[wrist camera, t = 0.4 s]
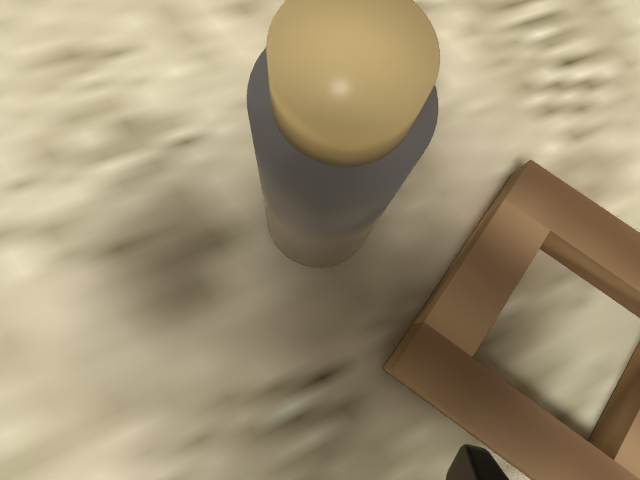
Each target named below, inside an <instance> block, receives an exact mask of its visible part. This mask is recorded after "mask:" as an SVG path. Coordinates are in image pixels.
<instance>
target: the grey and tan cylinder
mask: <svg viewBox="0 0 640 480" xmlns="http://www.w3.org/2000/svg"><path fill="white" fill-rule="evenodd" d="M439 66H440V49H439V43H438V39H437V36H436V33H435V30H434V28H433V26H432V24H431V22H430V20H429V19H428V17H427V16H426V14H425V13H424V12H423V11H422V9H421V8H420V7H419V6H418V5H417V4H416V3H415V2H414V1H413V0H286V1H285V2H284V3H283V4H282V6H281V7H280V8H279V9H278V11H277V13H276V14H275V16H274V18H273V20H272V22H271V25H270V27H269V31H268V35H267V44H266V48H265V49H264V51H263V52H262V53H261V54H260V56H259V58H258V60H257V61H256V63H255V65H254V67H253V70H252V72H251V75H250V79H249V83H248V89H247V109H248V115H249V120H250V126H251V132H252V137H253V143H254V148H255V154H256V159H257V165H258V170H259V176H260V182H261V187H262V193H263V198H264V204H265V209H266V215H267V220H268V226H269V231H270V233H271V236H272V238H273V240H274V242H275V244H276V245H277V247H278V248H279V249H280V250H281V251H282V252H283V253H284V254H285V255H286V256H287V257H289V258H290V259H292V260H293V261H296V262H298V263H300V264H303V265H306V266H311V267H327V266H332V265H335V264H338V263H340V262H342V261H344V260H346V259H347V258H349V257H350V256H351V255H352V254H354V253H355V252H356V251H357V249H358V248H359V247H360V245H361V244H362V243H363V241H364V240H365V238H366V237H367V235H368V234H369V232H370V231H371V229H372V228H373V226H374V225H375V223H376V222H377V220H378V219H379V217H380V216H381V215H382V213H383V212H384V210H385V209H386V207H387V206H388V204H389V203H390V201H391V200H392V198H393V197H394V195H395V194H396V192H397V191H398V189H399V188H400V187H401V185H402V184H403V182H404V181H405V179H406V178H407V176H408V175H409V173H410V172H411V170H412V169H413V167H414V166H415V164H416V163H417V161H418V160H419V159H420V157H421V156H422V154H423V153H424V151H425V149H426V148H427V146H428V145H429V143H430V141H431V138H432V136H433V134H434V131H435V127H436V123H437V117H438V97H437V91H436V87H435V82H436V79H437V76H438V72H439Z"/></svg>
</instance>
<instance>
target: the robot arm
mask: <svg viewBox="0 0 640 480" xmlns="http://www.w3.org/2000/svg"><path fill="white" fill-rule="evenodd" d="M446 480H509V479H508V477H507V476H506V475H505V473H504V472H503V470H502V469H501V468H500V466H499V465H498V464H497V462H496V461H495V459H494V458H493V457H492V455H491V454H490V453H489V452H488V451H487V450H486V449H484V448H481V447H477V446H472V445H468V444H465V445H463V446H461V448H460V449H459V451H458V453H457V455H456V457H455V459H454V461H453V463H452V464H451V466H450V468H449V470H448V472H447V476H446Z"/></svg>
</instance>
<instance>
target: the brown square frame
mask: <svg viewBox="0 0 640 480" xmlns="http://www.w3.org/2000/svg"><path fill="white" fill-rule="evenodd" d="M539 248H540V249H541V250H543V251H544V252H546V253H547V254H549V255H550V256H551V257H553V258H554V259H556V260H557V261H559V262H560V263H562V264H563V265H564V266H566V267H567V268H569V269H570V270H572V271H573V272H575V273H576V274H577V275H579V276H580V277H582V278H583V279H585V280H586V281H588V282H589V283H590V284H592V285H593V286H595V287H596V288H598V289H599V290H601V291H602V292H603V293H605V294H606V295H608V296H609V297H611V298H612V299H613V300H615V301H616V302H618V303H619V304H621V305H622V306H624V307H625V308H626V309H628V310H629V311H631V312H632V313H634V314H635V315H637V316H638V317H639V318H640V233H639V232H637V231H636V230H634V229H633V228H632V227H630V226H629V225H627V224H626V223H624V222H623V221H621V220H620V219H618V218H617V217H615V216H614V215H612V214H611V213H609V212H608V211H606V210H605V209H603V208H602V207H600V206H599V205H597V204H596V203H594V202H593V201H591V200H590V199H588V198H587V197H586V196H584V195H583V194H581V193H580V192H578V191H577V190H575V189H574V188H572V187H571V186H569V185H568V184H566V183H565V182H563V181H562V180H560V179H559V178H557V177H556V176H554V175H553V174H551V173H550V172H548V171H547V170H545V169H544V168H542V167H541V166H540V165H538V164H537V163H535V162H534V161H532V160H530V161H528V162H527V163H526V164H525V165H523V166H522V167H521V168H520V169H518V170H517V171H516V172H514V173H513V174H512V175H511V176H510V178H509V179H508V181H507V182H506V184H505V185H504V187H503V188H502V190H501V191H500V193H499V194H498V196H497V197H496V199H495V200H494V202H493V203H492V205H491V206H490V208H489V209H488V211H487V212H486V214H485V215H484V217H483V218H482V220H481V221H480V223H479V224H478V226H477V227H476V229H475V230H474V232H473V233H472V235H471V236H470V238H469V239H468V241H467V242H466V244H465V245H464V247H463V248H462V250H461V251H460V253H459V254H458V256H457V257H456V259H455V260H454V262H453V263H452V265H451V266H450V268H449V269H448V271H447V272H446V274H445V275H444V277H443V278H442V280H441V281H440V283H439V284H438V286H437V287H436V289H435V290H434V292H433V293H432V295H431V296H430V298H429V299H428V301H427V302H426V304H425V305H424V307H423V308H422V310H421V311H420V313H419V314H418V316H417V317H416V319H415V320H414V322H413V323H412V325H411V327H410V328H409V330H408V331H407V333H406V334H405V336H404V337H403V339H402V340H401V342H400V343H399V345H398V346H397V348H396V349H395V351H394V352H393V354H392V355H391V357H390V358H389V360H388V361H387V363H386V364H385V366H384V367H383V369H384V370H385V371H387V372H388V373H389V374H391V375H392V376H393V377H395V378H396V379H397V380H399V381H400V382H401V383H403V384H404V385H405V386H407V387H408V388H409V389H411V390H412V391H413V392H415V393H416V394H417V395H419V396H420V397H421V398H423V399H424V400H425V401H427V402H428V403H429V404H431V405H432V406H433V407H435V408H436V409H437V410H439V411H440V412H441V413H443V414H444V415H445V416H447V417H448V418H449V419H451V420H452V421H453V422H455V423H456V424H458V425H459V426H460V427H462V428H463V429H464V430H466V431H467V432H468V433H470V434H471V435H472V436H474V437H475V438H476V439H478V440H479V441H480V442H482V443H483V444H484V445H486V446H487V447H488V448H490V449H491V450H492V451H494V452H495V453H496V454H498V455H499V456H500V457H502V458H503V459H504V460H506V461H507V462H508V463H510V464H511V465H512V466H514V467H515V468H516V469H518V470H519V471H520V472H522V473H523V474H524V475H526V476H527V477H528V478H530V479H531V480H640V343H639V345H638V346H637V348H636V350H635V352H634V354H633V356H632V358H631V360H630V362H629V364H628V366H627V368H626V369H625V371H624V373H623V375H622V377H621V379H620V381H619V383H618V385H617V387H616V389H615V391H614V392H613V394H612V396H611V398H610V400H609V402H608V404H607V406H606V408H605V410H604V412H603V414H602V415H601V417H600V419H599V421H598V423H597V425H596V427H595V429H594V431H593V433H592V435H591V437H590V438H589V440H588V441H587V440H585V439H584V438H583V437H581V436H580V435H579V434H577V433H576V432H575V431H573V430H572V429H570V428H569V427H568V426H566V425H565V424H564V423H562V422H561V421H559V420H558V419H557V418H555V417H554V416H553V415H551V414H550V413H548V412H547V411H546V410H544V409H543V408H542V407H540V406H539V405H537V404H536V403H535V402H533V401H532V400H531V399H529V398H528V397H526V396H525V395H524V394H522V393H521V392H520V391H518V390H517V389H516V388H514V387H513V386H511V385H510V384H509V383H507V382H506V381H505V380H503V379H502V378H500V377H499V376H498V375H496V374H495V373H494V372H492V371H491V370H489V369H488V368H487V367H485V366H484V365H483V364H481V363H480V362H478V361H477V360H476V359H474V358H473V355H474V354H475V352H476V350H477V349H478V347H479V346H480V344H481V342H482V341H483V339H484V337H485V336H486V334H487V333H488V331H489V329H490V328H491V326H492V325H493V323H494V321H495V320H496V318H497V316H498V315H499V313H500V312H501V310H502V308H503V307H504V305H505V303H506V302H507V300H508V299H509V297H510V295H511V294H512V292H513V290H514V289H515V287H516V286H517V284H518V282H519V281H520V279H521V277H522V276H523V274H524V273H525V271H526V269H527V268H528V266H529V264H530V263H531V261H532V260H533V258H534V256H535V255H536V253H537V251H538V250H539Z"/></svg>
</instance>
